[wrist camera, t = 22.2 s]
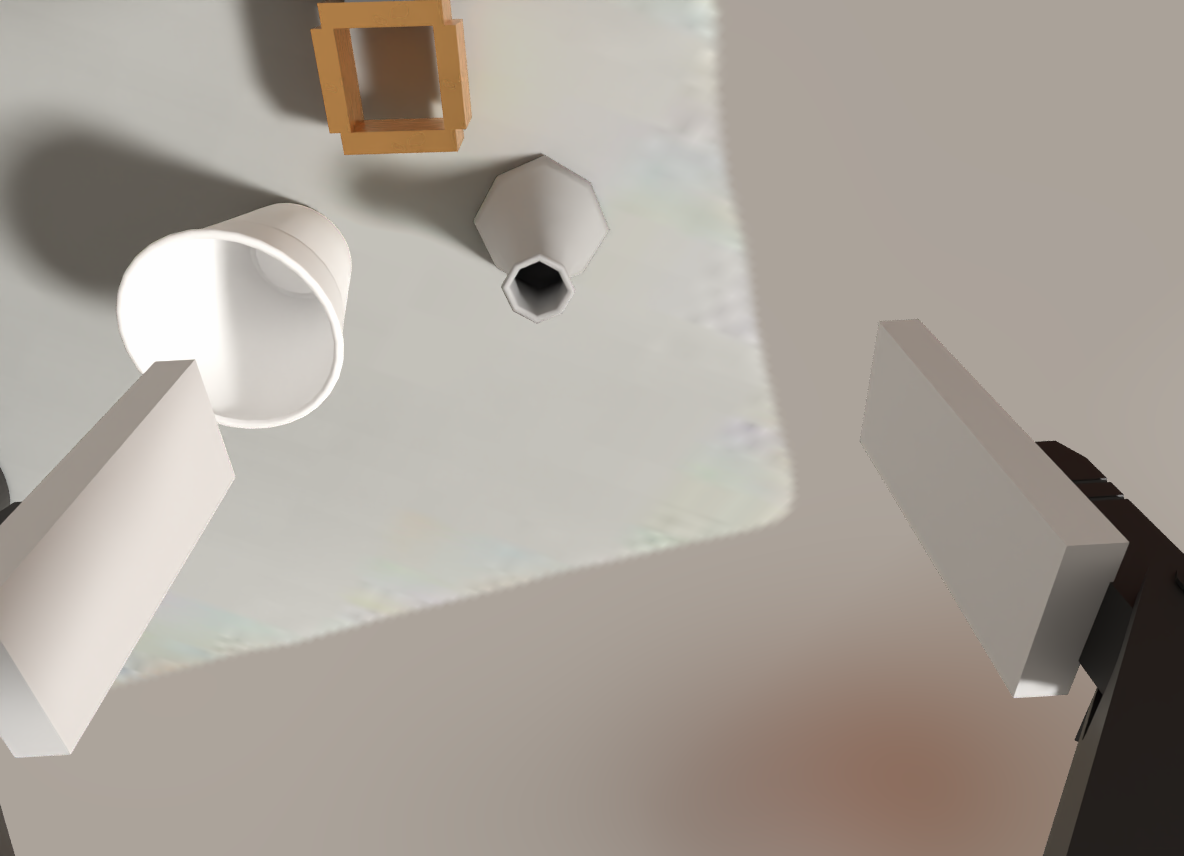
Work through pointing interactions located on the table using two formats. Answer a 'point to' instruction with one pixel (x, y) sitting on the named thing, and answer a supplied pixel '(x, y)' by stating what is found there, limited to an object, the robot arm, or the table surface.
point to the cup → (244, 311)
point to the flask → (540, 234)
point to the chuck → (357, 7)
